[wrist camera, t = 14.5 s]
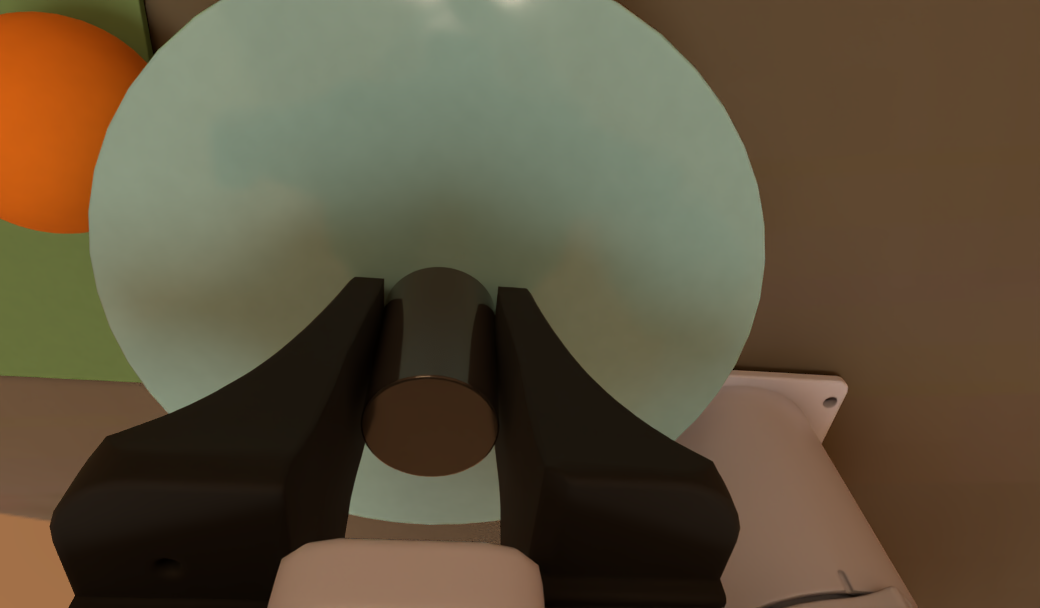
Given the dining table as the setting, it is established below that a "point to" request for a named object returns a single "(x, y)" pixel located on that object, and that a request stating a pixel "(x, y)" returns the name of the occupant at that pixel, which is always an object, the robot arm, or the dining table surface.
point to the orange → (56, 115)
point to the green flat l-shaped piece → (62, 254)
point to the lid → (428, 216)
